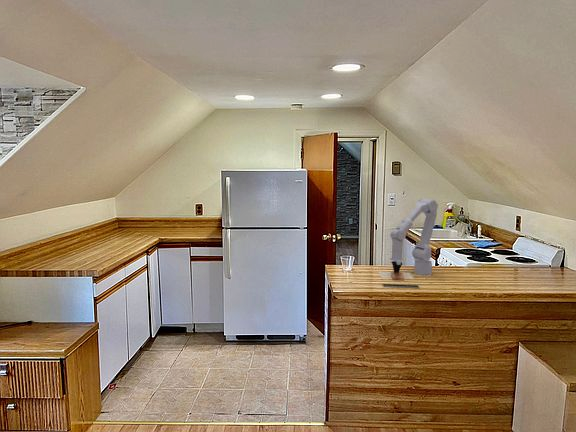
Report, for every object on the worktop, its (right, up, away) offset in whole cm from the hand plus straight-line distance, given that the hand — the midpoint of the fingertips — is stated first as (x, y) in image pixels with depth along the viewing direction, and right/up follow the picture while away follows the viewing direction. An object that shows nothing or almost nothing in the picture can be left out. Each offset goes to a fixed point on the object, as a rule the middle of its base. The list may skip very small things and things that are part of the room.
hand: (396, 274), depth 233 cm
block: (-1, -1, -5) cm, 5 cm away
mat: (-1, -3, -11) cm, 12 cm away
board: (0, -2, +2) cm, 3 cm away
